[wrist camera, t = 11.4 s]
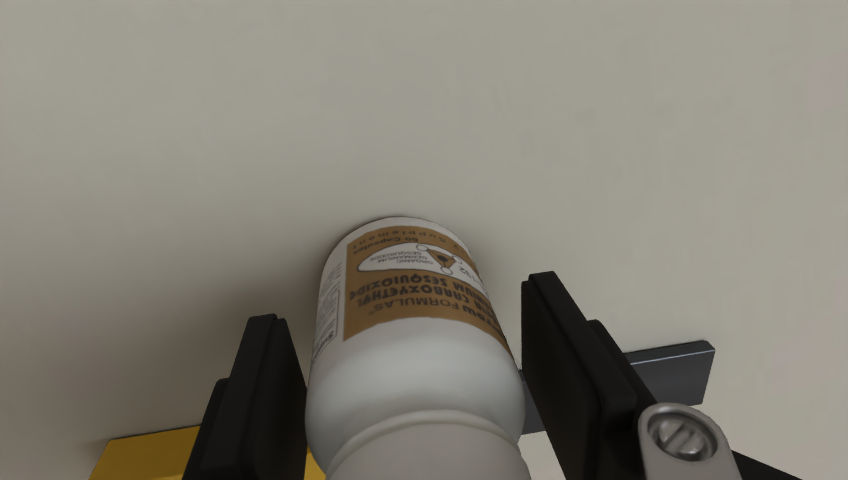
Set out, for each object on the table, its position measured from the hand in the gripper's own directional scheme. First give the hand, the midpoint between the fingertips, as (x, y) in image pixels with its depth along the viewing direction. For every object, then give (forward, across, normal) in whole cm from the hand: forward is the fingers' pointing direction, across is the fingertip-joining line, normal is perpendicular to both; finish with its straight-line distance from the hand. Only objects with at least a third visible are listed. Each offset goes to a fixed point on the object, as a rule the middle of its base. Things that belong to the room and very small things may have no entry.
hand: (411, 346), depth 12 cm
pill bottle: (+3, 0, 0) cm, 3 cm away
